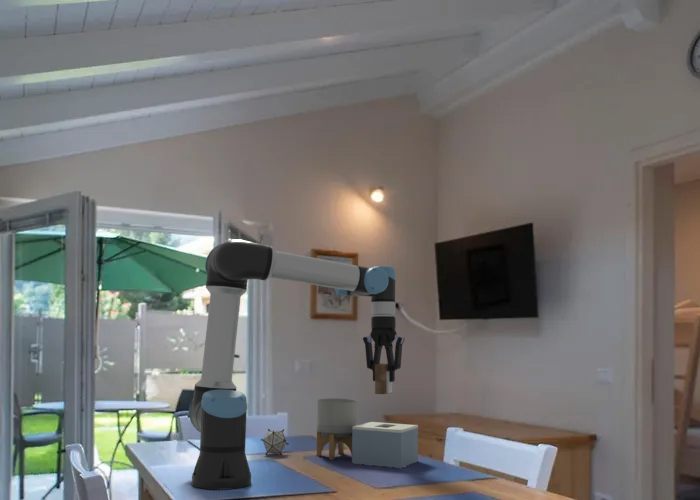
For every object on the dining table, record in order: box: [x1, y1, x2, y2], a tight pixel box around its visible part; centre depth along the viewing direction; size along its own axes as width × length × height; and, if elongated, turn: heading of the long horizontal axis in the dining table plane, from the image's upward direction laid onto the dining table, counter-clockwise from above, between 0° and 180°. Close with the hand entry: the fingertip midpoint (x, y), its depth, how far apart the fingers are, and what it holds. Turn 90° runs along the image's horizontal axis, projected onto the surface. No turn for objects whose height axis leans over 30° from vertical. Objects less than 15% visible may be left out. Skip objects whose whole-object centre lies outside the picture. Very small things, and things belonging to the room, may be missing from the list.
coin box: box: [351, 421, 419, 469], centre depth 218 cm, size 14×16×11 cm
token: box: [374, 362, 390, 395], centre depth 218 cm, size 3×6×9 cm, turn 153°
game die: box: [260, 428, 289, 456], centre depth 230 cm, size 9×8×10 cm
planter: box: [316, 397, 358, 461], centre depth 228 cm, size 13×13×18 cm
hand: (383, 392), depth 217 cm, fingers closed on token, 3 cm apart
